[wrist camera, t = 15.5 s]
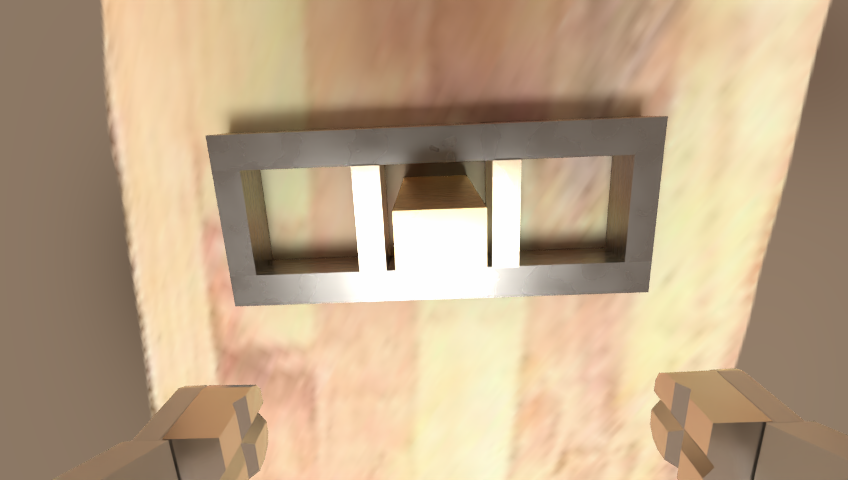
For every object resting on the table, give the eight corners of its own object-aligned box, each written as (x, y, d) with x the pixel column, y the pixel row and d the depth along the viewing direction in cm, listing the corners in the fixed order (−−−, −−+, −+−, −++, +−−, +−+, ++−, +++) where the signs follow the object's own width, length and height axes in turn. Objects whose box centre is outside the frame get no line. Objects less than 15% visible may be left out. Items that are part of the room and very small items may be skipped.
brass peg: (404, 177, 28) (392, 211, 18) (466, 175, 28) (486, 207, 18) (407, 237, 29) (397, 298, 20) (467, 235, 29) (486, 295, 20)
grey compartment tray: (229, 133, 27) (204, 135, 24) (641, 116, 27) (669, 116, 24) (253, 287, 30) (234, 307, 27) (626, 274, 30) (649, 293, 27)
